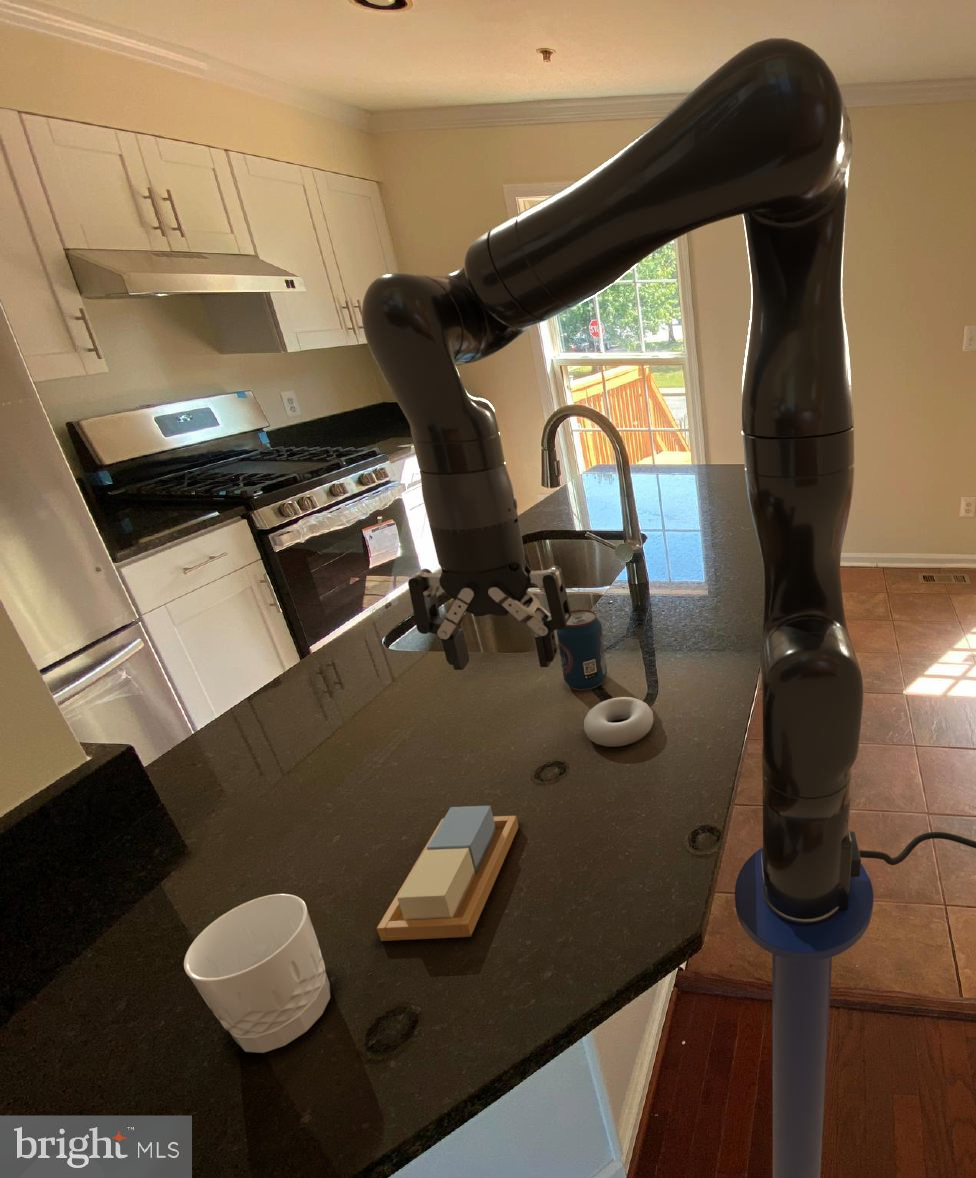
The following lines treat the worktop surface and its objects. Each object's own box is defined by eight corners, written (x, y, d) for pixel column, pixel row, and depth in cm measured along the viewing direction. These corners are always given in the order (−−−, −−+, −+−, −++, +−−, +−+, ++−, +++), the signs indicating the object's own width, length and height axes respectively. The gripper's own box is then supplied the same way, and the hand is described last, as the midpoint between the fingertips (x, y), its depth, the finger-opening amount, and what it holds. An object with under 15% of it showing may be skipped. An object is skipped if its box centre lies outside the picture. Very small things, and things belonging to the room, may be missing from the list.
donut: (632, 704, 100) (572, 728, 94) (631, 685, 99) (570, 708, 92) (667, 733, 93) (605, 761, 87) (666, 713, 92) (602, 740, 86)
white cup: (275, 1074, 51) (233, 992, 47) (203, 1045, 53) (157, 965, 49) (360, 983, 58) (329, 905, 54) (293, 961, 60) (259, 884, 56)
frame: (518, 826, 76) (516, 815, 75) (470, 936, 62) (467, 924, 62) (445, 829, 75) (441, 818, 75) (380, 941, 62) (376, 928, 61)
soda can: (559, 677, 107) (549, 614, 102) (600, 666, 110) (592, 604, 105) (571, 697, 101) (561, 630, 97) (613, 684, 105) (606, 619, 100)
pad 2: (476, 875, 68) (468, 847, 67) (452, 924, 63) (444, 895, 61) (433, 877, 68) (425, 849, 67) (406, 926, 63) (396, 897, 61)
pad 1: (496, 831, 74) (490, 805, 73) (477, 873, 69) (470, 845, 67) (457, 833, 74) (450, 806, 72) (434, 875, 68) (426, 847, 67)
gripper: (372, 528, 55) (417, 687, 61) (540, 524, 56) (566, 681, 62) (413, 504, 62) (449, 649, 68) (561, 501, 63) (583, 645, 69)
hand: (505, 664), depth 65 cm, fingers open, 8 cm apart
